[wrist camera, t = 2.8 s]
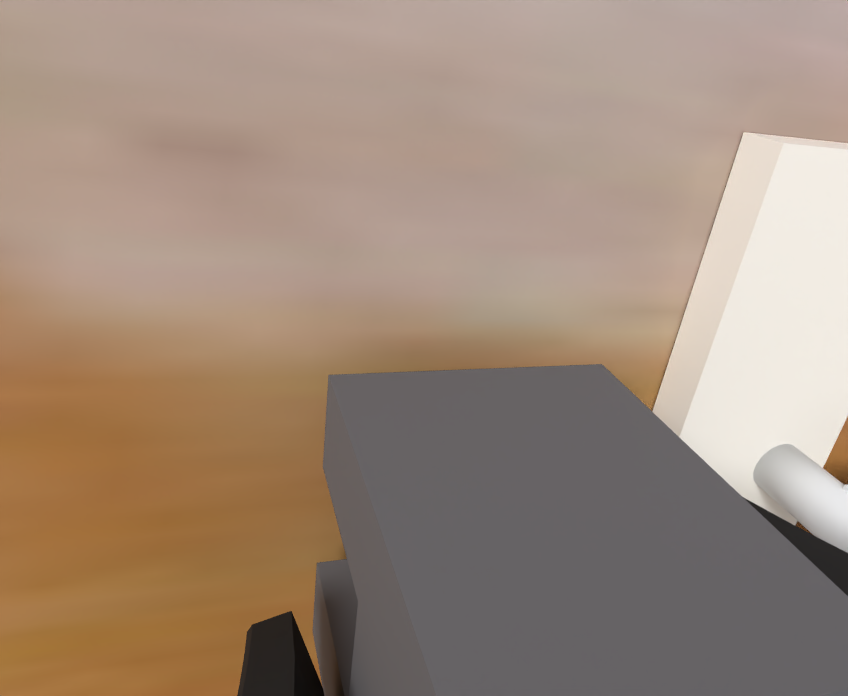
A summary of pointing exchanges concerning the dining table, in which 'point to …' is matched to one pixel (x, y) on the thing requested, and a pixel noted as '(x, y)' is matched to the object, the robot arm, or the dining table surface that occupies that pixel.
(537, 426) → the notched grey block
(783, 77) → the dining table surface
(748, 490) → the cream frame with handle
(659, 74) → the dining table surface
